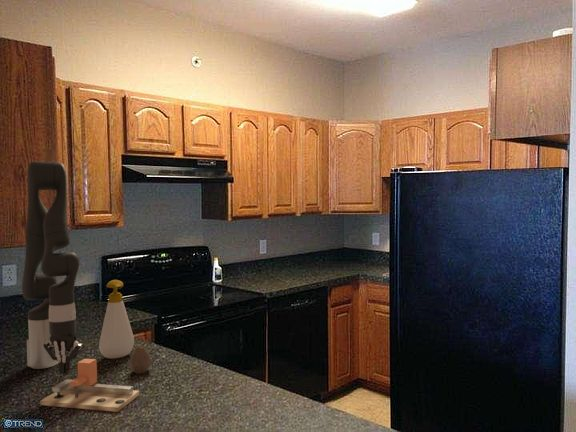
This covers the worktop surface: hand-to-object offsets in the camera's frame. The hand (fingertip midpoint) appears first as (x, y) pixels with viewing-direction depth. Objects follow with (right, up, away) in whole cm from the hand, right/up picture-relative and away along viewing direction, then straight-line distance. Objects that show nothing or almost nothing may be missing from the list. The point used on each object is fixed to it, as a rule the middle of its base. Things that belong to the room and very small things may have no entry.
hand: (64, 373), depth 151 cm
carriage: (+7, -5, -4) cm, 9 cm away
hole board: (+10, -6, -5) cm, 13 cm away
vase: (+18, -5, +18) cm, 26 cm away
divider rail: (+10, -5, -5) cm, 12 cm away
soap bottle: (+5, -5, +33) cm, 34 cm away
